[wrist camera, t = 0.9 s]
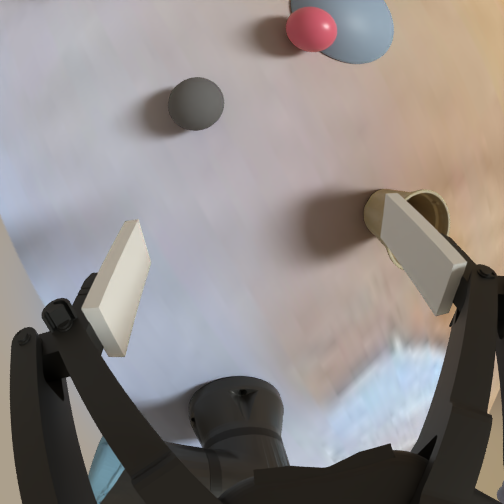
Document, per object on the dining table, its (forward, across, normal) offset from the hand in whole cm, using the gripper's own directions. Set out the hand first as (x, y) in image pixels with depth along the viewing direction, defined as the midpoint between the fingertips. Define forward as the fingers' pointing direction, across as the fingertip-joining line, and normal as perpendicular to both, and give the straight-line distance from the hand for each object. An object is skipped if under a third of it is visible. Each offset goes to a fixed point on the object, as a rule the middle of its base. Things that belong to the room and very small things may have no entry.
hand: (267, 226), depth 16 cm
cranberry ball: (+21, -8, -12) cm, 25 cm away
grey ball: (+18, +4, -5) cm, 19 cm away
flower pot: (+20, -17, +11) cm, 28 cm away
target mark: (+25, -14, -15) cm, 32 cm away
